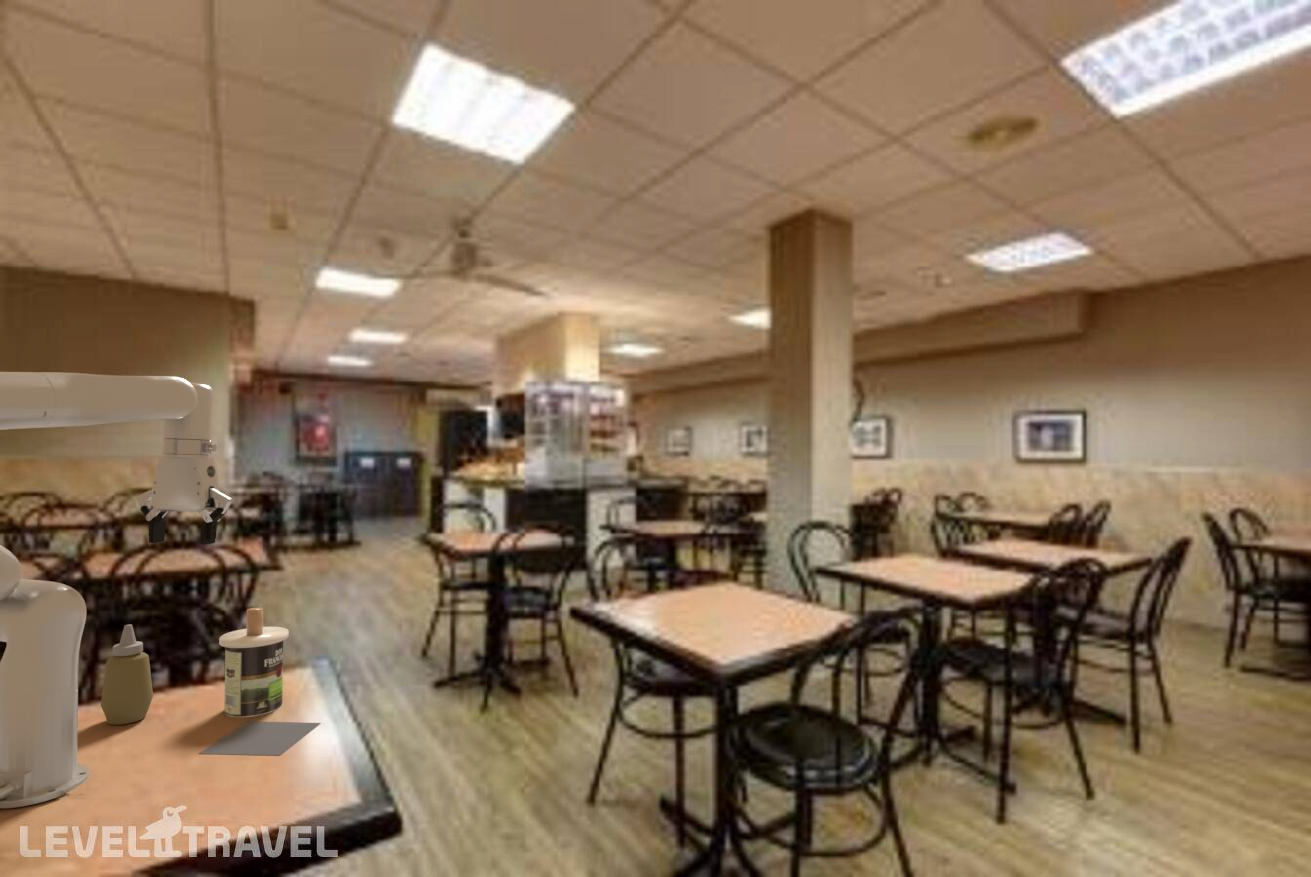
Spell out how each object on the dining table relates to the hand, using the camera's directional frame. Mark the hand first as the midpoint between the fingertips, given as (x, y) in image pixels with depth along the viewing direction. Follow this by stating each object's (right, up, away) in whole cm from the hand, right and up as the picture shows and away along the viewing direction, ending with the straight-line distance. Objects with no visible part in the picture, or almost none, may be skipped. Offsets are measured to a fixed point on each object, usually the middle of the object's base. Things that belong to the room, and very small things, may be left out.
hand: (182, 543), depth 132 cm
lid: (+7, -21, +11) cm, 24 cm away
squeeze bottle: (-14, -35, +5) cm, 38 cm away
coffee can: (+7, -35, +11) cm, 37 cm away
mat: (+17, -35, -4) cm, 39 cm away
